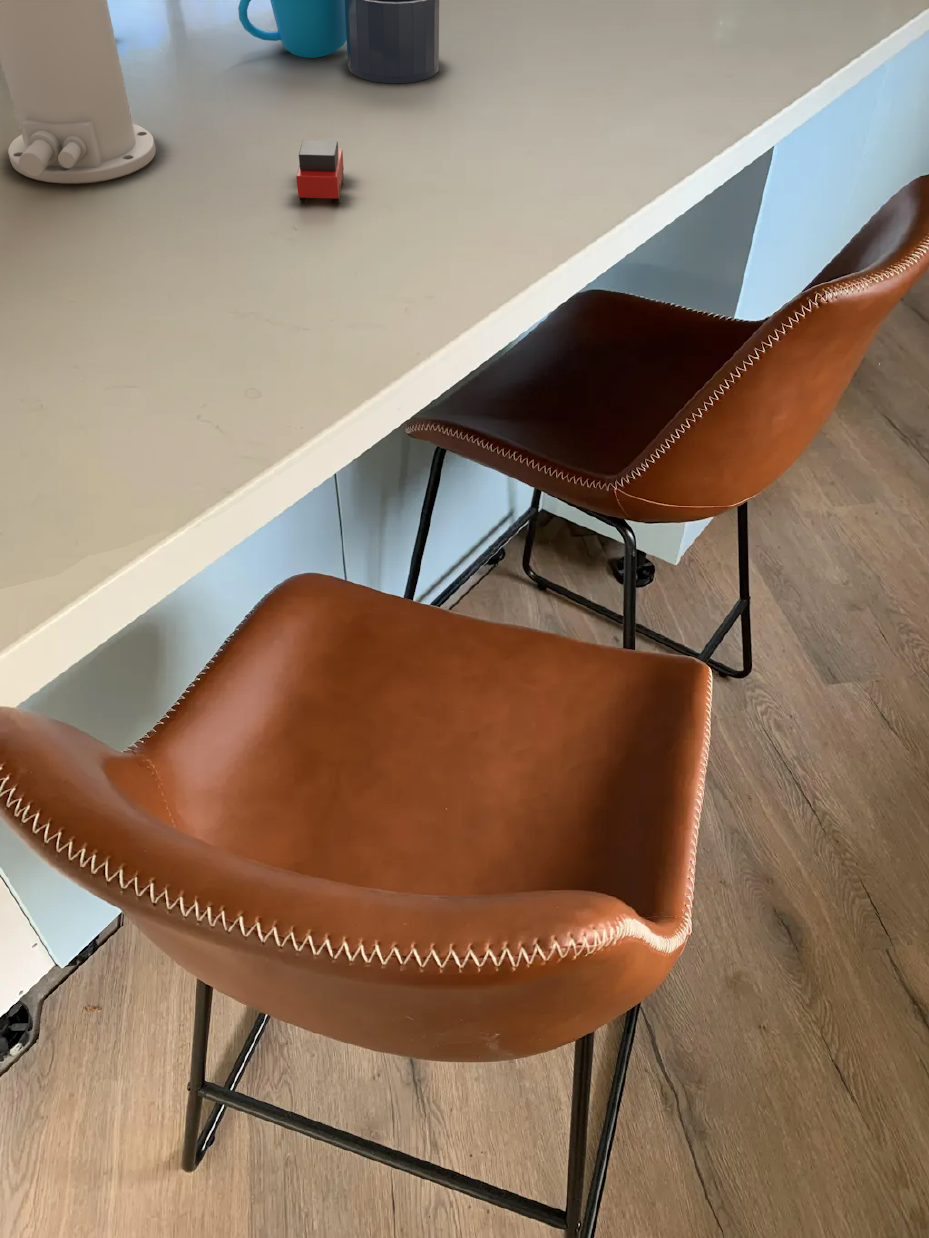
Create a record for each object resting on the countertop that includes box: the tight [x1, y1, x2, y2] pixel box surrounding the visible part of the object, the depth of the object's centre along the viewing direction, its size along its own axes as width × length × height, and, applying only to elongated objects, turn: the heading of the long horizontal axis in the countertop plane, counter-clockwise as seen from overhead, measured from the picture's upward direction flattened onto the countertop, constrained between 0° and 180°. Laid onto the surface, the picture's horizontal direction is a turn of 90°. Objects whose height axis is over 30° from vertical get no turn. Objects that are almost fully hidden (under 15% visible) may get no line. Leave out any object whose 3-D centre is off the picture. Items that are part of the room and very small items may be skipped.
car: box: [295, 139, 345, 203], centre depth 82 cm, size 6×3×4 cm, turn 1°
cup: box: [345, 0, 440, 84], centre depth 103 cm, size 10×10×8 cm
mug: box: [237, 0, 347, 59], centre depth 105 cm, size 12×8×8 cm
